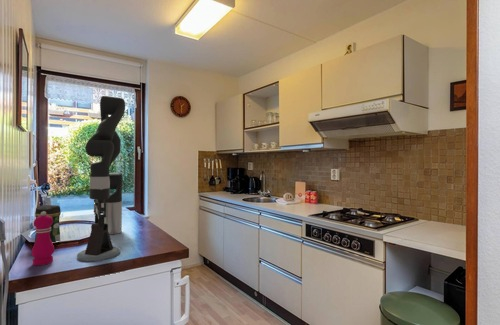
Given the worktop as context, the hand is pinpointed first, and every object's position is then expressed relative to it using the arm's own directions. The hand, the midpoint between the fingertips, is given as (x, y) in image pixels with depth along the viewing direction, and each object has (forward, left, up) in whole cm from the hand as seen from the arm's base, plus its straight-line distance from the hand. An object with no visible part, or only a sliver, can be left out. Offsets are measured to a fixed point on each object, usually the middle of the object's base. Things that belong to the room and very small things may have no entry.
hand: (99, 225), depth 116 cm
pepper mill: (-3, -19, -13) cm, 23 cm away
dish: (0, 0, -13) cm, 13 cm away
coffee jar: (-31, -17, -13) cm, 37 cm away
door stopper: (0, 0, -11) cm, 11 cm away
